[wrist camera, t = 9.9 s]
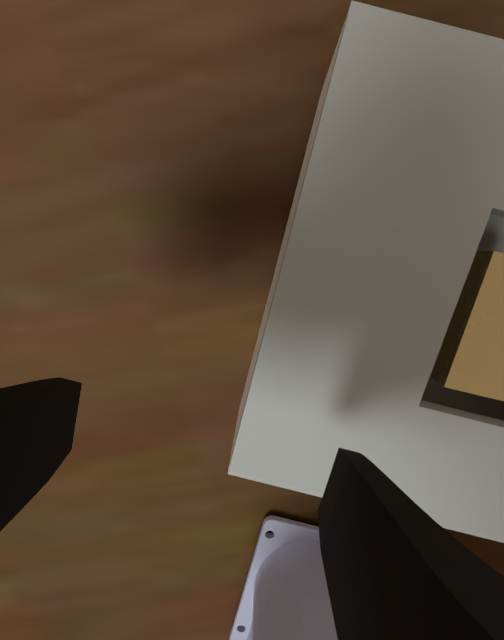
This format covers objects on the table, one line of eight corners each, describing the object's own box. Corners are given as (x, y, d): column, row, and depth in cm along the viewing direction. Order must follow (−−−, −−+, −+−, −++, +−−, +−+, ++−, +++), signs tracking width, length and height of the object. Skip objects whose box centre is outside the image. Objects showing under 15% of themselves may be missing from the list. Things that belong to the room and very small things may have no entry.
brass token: (441, 359, 18) (508, 402, 13) (395, 348, 18) (444, 386, 13) (476, 262, 17) (563, 267, 12) (427, 250, 17) (494, 250, 12)
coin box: (520, 476, 19) (630, 574, 13) (240, 405, 19) (227, 473, 13) (657, 177, 16) (881, 135, 10) (321, 91, 16) (352, 0, 10)
